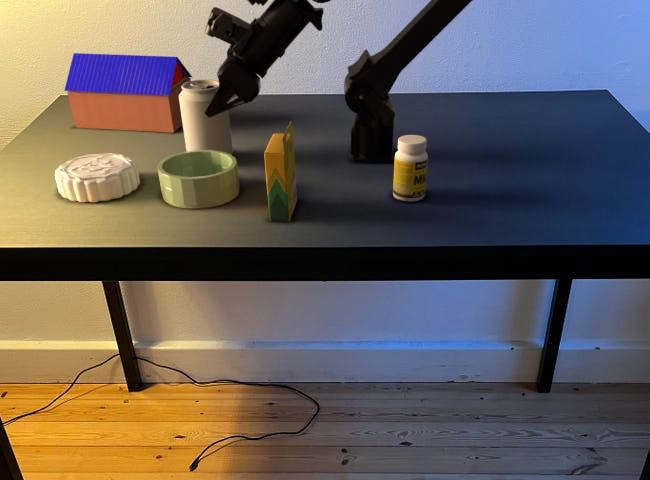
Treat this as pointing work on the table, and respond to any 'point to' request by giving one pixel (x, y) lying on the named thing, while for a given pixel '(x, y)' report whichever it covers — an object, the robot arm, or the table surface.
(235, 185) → the pot
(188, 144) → the can
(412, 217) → the table surface
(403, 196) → the supplement bottle
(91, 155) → the mooncake
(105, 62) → the house
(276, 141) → the crayon box
